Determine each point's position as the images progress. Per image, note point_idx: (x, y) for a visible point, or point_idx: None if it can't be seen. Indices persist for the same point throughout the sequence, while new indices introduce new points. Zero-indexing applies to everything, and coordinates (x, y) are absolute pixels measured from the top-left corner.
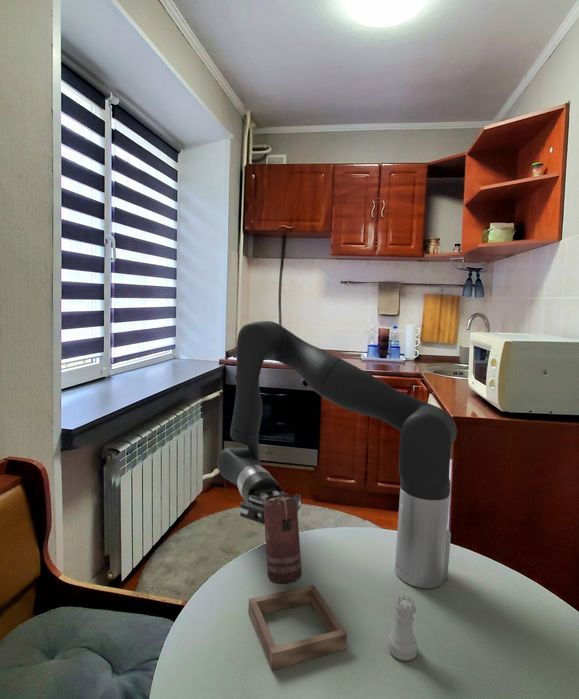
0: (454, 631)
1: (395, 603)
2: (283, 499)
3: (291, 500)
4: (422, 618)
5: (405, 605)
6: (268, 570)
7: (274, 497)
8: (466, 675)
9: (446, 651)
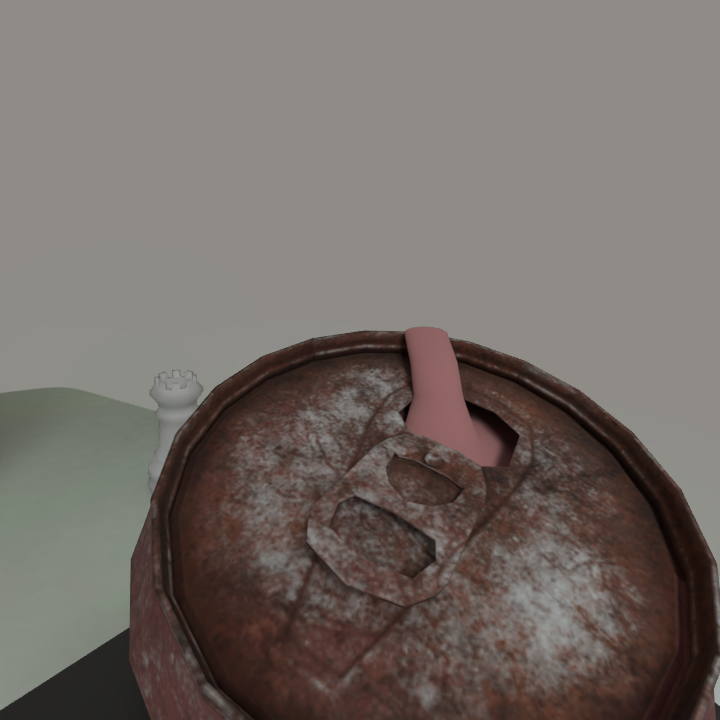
0: (27, 473)
1: (189, 392)
2: (433, 327)
3: (327, 350)
4: (25, 517)
5: (184, 378)
6: None
7: None
8: (145, 428)
9: (111, 456)
